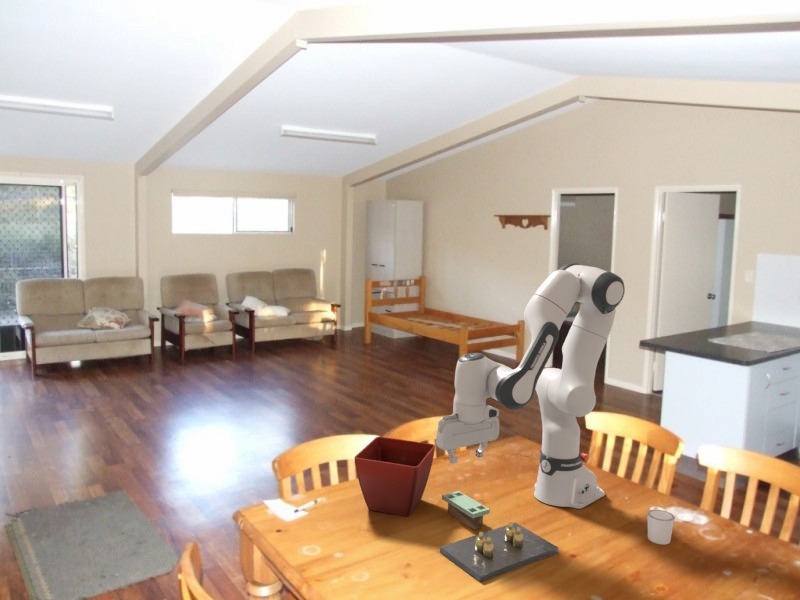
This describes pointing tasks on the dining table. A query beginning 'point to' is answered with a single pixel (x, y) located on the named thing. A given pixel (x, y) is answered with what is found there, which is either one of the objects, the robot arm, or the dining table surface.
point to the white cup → (660, 526)
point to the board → (466, 504)
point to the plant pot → (394, 474)
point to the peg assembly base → (498, 551)
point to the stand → (466, 517)
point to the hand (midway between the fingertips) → (466, 459)
